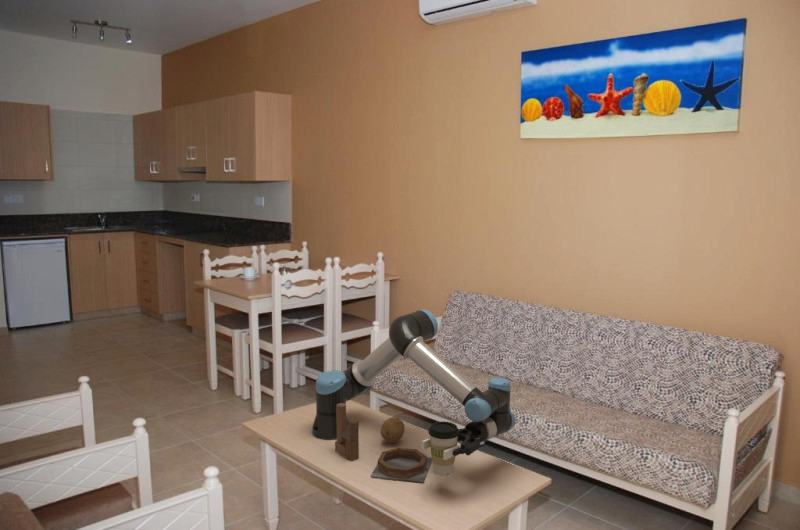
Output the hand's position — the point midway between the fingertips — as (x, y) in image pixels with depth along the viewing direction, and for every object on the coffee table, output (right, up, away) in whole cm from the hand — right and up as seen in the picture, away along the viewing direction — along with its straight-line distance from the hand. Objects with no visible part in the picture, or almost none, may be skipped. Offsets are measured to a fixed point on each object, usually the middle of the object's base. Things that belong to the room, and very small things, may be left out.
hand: (433, 450), depth 190 cm
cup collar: (-10, -12, +20) cm, 26 cm away
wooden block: (-30, -11, +31) cm, 44 cm away
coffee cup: (+3, -8, +4) cm, 10 cm away
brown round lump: (-13, -10, +40) cm, 44 cm away
